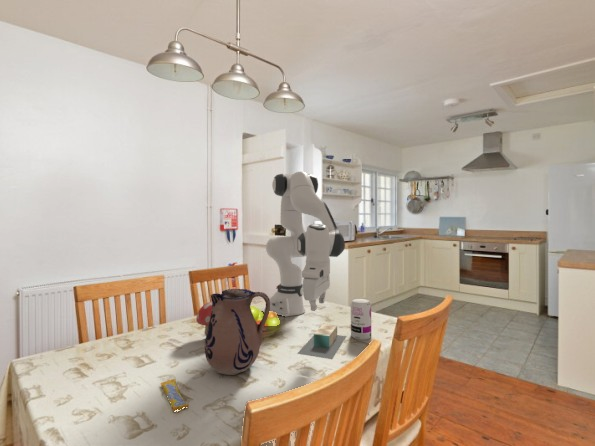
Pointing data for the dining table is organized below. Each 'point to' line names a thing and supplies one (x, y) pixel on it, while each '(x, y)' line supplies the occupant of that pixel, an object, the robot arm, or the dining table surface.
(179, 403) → the candy bar
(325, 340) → the block
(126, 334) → the dining table surface
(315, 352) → the mat
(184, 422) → the dining table surface
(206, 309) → the decorative mushroom
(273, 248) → the robot arm
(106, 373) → the dining table surface
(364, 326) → the supplement can
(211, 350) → the ceramic pitcher
